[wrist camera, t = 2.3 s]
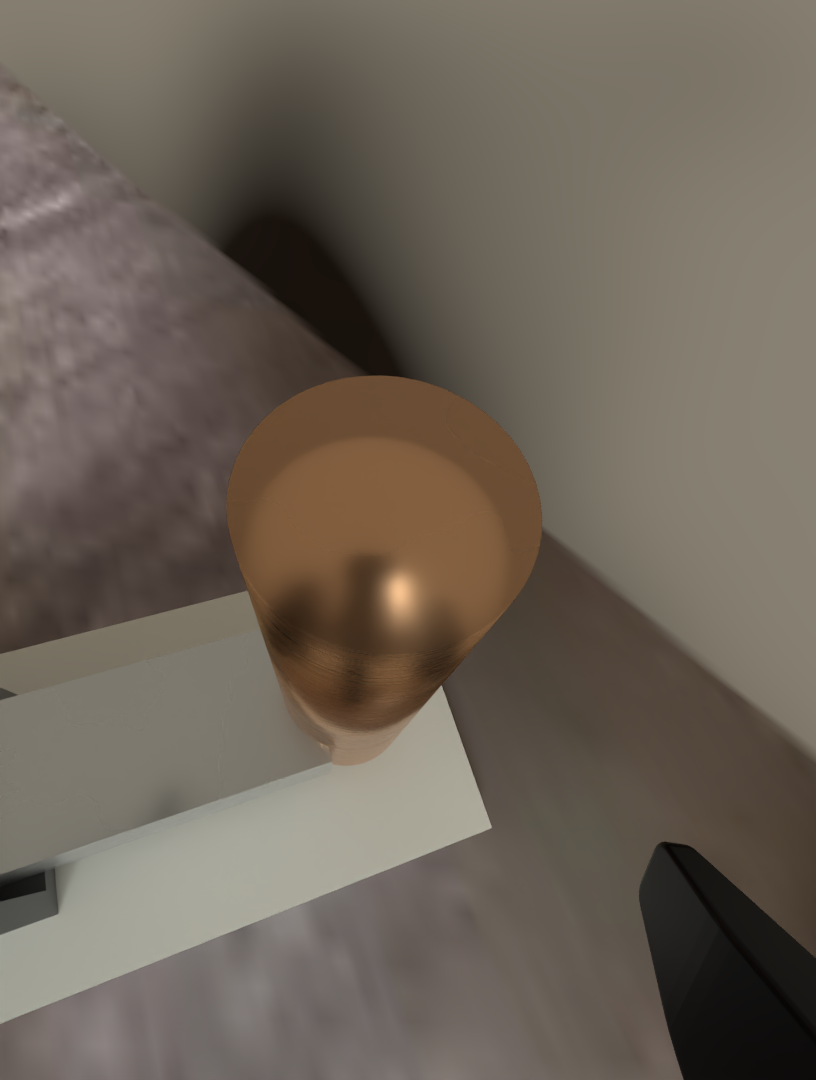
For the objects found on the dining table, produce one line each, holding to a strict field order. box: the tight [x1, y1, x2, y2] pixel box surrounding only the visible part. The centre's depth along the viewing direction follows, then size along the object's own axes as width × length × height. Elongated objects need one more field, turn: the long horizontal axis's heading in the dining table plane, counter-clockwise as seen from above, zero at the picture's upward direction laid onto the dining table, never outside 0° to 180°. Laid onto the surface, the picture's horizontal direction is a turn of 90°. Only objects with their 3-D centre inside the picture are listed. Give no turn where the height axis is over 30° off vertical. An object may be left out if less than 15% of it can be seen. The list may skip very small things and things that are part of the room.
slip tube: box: [0, 376, 542, 887], centre depth 10 cm, size 16×3×12 cm, turn 109°
